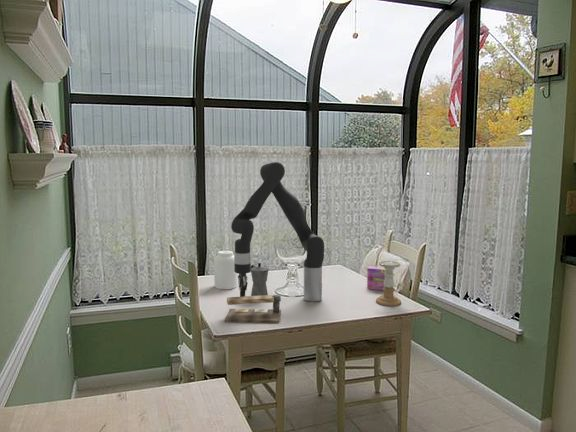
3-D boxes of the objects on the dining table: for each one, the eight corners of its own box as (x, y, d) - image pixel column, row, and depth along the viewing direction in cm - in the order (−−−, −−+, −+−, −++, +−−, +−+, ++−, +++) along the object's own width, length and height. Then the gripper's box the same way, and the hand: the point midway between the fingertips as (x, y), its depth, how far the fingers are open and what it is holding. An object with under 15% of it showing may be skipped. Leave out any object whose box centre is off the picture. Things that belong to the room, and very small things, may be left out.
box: (366, 288, 268) (367, 267, 266) (369, 286, 273) (369, 265, 271) (385, 290, 264) (386, 269, 262) (387, 288, 269) (388, 267, 268)
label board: (280, 312, 228) (280, 299, 227) (279, 323, 213) (279, 309, 212) (230, 311, 229) (229, 298, 228) (224, 322, 214) (224, 308, 213)
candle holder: (382, 307, 236) (384, 266, 233) (371, 299, 248) (372, 261, 245) (405, 305, 239) (407, 265, 237) (393, 298, 251) (395, 259, 248)
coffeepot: (274, 298, 248) (274, 264, 246) (258, 301, 243) (257, 266, 241) (258, 291, 261) (258, 258, 259) (243, 294, 256) (243, 260, 254)
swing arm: (279, 298, 227) (279, 294, 227) (281, 301, 222) (281, 297, 222) (226, 301, 222) (226, 297, 222) (227, 304, 217) (227, 300, 217)
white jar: (237, 283, 276) (237, 249, 274) (236, 289, 264) (235, 253, 261) (215, 283, 276) (215, 249, 273) (213, 290, 263) (212, 253, 261)
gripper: (253, 264, 217) (253, 302, 220) (248, 258, 230) (248, 293, 232) (236, 265, 215) (236, 303, 218) (232, 259, 228) (232, 294, 230)
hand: (242, 298), depth 225 cm, fingers closed
